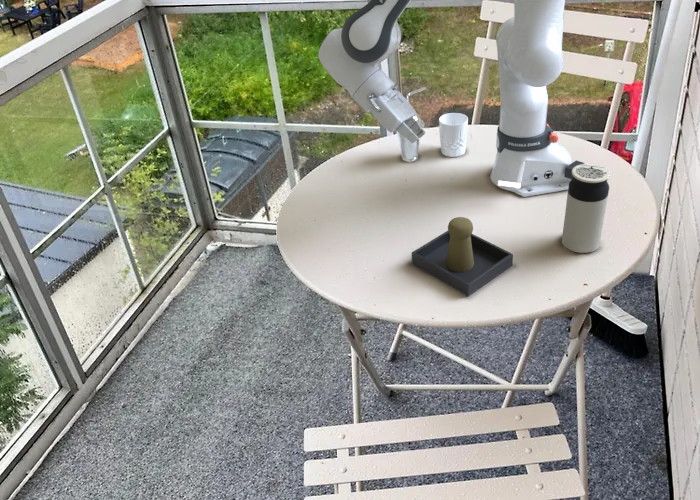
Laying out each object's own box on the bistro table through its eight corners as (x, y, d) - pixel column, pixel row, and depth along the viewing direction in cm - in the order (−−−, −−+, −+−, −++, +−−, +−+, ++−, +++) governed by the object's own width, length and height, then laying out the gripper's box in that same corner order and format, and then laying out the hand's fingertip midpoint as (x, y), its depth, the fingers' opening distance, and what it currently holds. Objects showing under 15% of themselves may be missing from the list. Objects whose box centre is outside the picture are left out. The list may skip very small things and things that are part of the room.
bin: (411, 264, 144) (411, 252, 142) (455, 236, 151) (455, 225, 149) (468, 296, 133) (468, 284, 132) (512, 265, 140) (513, 254, 139)
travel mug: (593, 257, 140) (605, 184, 130) (556, 248, 144) (565, 177, 133) (603, 238, 145) (616, 166, 135) (567, 229, 149) (577, 159, 139)
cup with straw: (397, 150, 188) (393, 83, 176) (428, 151, 186) (427, 83, 174) (392, 164, 181) (389, 96, 169) (425, 165, 179) (423, 96, 168)
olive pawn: (456, 275, 139) (456, 232, 132) (440, 261, 143) (440, 218, 137) (479, 265, 140) (481, 222, 134) (463, 251, 145) (464, 209, 139)
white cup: (466, 144, 187) (467, 112, 181) (468, 157, 181) (468, 124, 175) (438, 145, 188) (438, 113, 182) (439, 158, 182) (439, 125, 176)
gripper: (374, 85, 134) (422, 133, 134) (394, 81, 153) (436, 123, 153) (354, 107, 137) (400, 154, 137) (376, 100, 155) (417, 142, 156)
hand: (419, 138), depth 145 cm, fingers open, 8 cm apart
